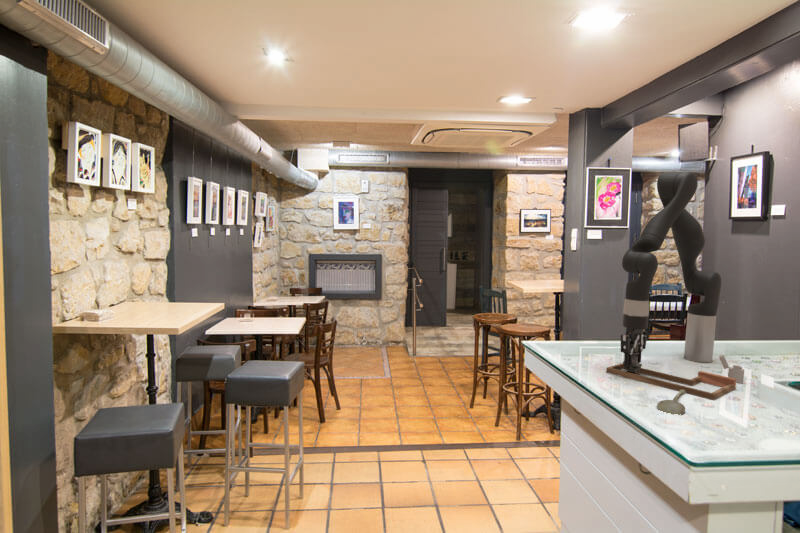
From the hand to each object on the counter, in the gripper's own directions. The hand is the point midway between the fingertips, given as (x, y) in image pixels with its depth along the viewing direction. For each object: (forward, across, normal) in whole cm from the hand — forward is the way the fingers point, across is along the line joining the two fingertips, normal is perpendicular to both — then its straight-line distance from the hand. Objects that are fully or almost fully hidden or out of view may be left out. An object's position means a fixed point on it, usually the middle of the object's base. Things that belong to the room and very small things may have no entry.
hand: (632, 363), depth 167 cm
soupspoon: (+4, +17, +21) cm, 27 cm away
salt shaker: (+4, 0, 0) cm, 4 cm away
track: (+4, -4, +10) cm, 11 cm away
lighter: (+4, -21, +22) cm, 31 cm away
